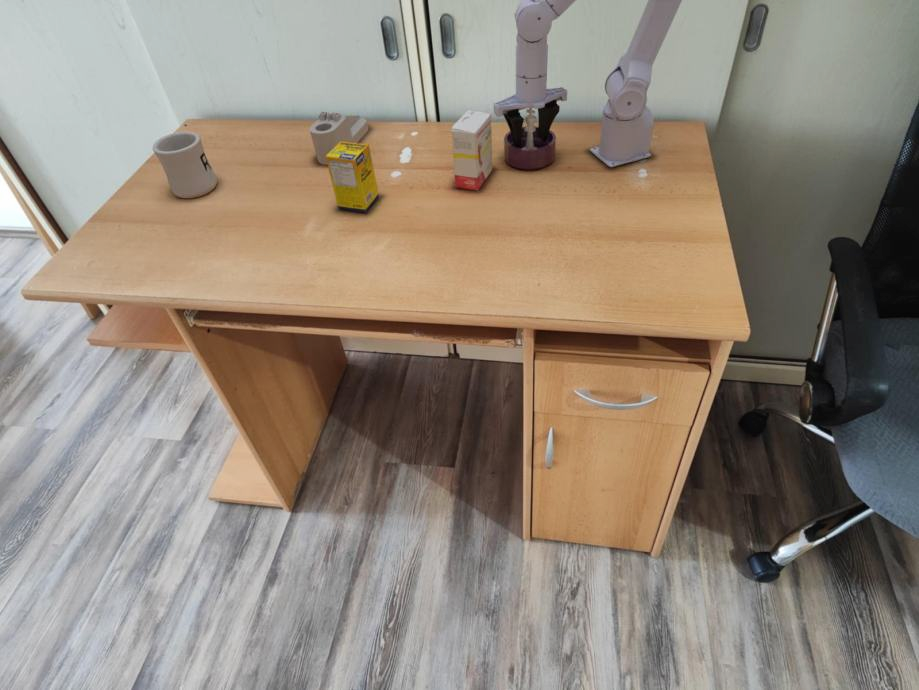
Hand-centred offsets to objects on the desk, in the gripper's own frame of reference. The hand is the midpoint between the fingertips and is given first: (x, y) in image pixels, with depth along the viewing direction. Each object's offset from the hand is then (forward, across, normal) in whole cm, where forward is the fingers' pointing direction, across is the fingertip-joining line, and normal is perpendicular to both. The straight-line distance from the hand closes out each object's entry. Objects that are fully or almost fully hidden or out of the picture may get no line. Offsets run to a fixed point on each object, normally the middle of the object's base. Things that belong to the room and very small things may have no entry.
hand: (529, 142), depth 116 cm
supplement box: (+4, -36, 0) cm, 36 cm away
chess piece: (+3, 0, 0) cm, 3 cm away
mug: (+4, -65, +23) cm, 69 cm away
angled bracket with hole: (+4, -33, +25) cm, 42 cm away
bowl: (+3, 0, 0) cm, 3 cm away
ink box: (+4, -13, -2) cm, 14 cm away
